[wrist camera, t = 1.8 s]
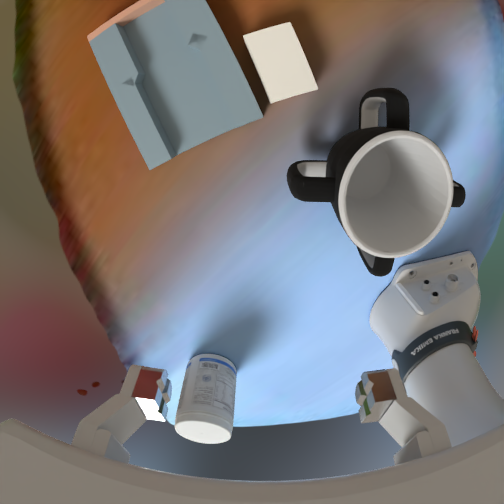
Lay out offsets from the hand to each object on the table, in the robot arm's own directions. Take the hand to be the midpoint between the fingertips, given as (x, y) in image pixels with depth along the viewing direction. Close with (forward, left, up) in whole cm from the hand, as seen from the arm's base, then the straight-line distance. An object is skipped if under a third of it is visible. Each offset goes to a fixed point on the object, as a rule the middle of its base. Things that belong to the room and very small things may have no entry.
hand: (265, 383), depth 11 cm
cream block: (-7, -13, -27) cm, 31 cm away
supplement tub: (+22, +28, -27) cm, 45 cm away
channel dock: (+4, -18, -27) cm, 33 cm away
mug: (-12, +2, -27) cm, 30 cm away
